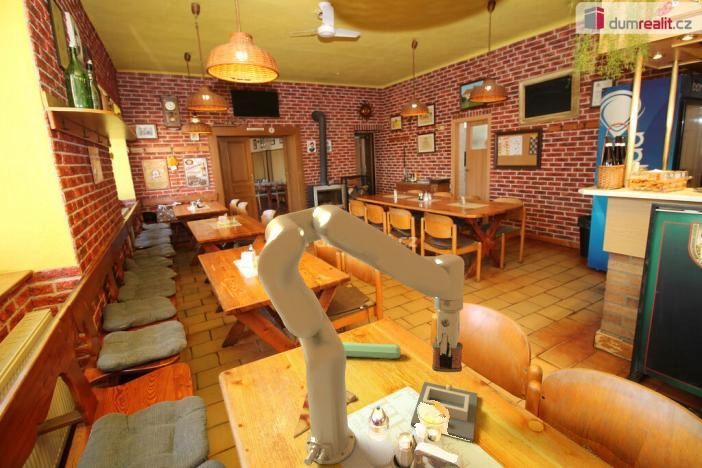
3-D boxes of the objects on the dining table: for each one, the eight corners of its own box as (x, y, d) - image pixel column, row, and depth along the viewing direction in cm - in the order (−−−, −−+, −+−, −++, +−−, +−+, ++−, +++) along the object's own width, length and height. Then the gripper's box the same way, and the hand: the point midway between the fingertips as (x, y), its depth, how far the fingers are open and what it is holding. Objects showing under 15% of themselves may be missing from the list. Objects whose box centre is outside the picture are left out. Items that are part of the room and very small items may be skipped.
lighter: (460, 365, 97) (461, 333, 94) (463, 372, 93) (464, 339, 91) (431, 364, 97) (431, 332, 95) (432, 372, 94) (433, 339, 92)
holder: (472, 442, 87) (473, 429, 86) (410, 426, 94) (410, 412, 93) (477, 396, 103) (478, 384, 102) (424, 384, 110) (424, 373, 109)
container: (400, 340, 125) (333, 337, 128) (401, 354, 120) (331, 350, 124) (400, 350, 129) (335, 346, 132) (400, 364, 124) (332, 360, 127)
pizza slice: (266, 408, 103) (266, 402, 103) (326, 376, 117) (326, 370, 117) (293, 439, 92) (293, 433, 91) (356, 399, 105) (356, 393, 105)
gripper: (459, 317, 82) (457, 384, 86) (466, 290, 97) (464, 348, 101) (427, 313, 85) (427, 378, 89) (438, 287, 100) (438, 344, 104)
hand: (446, 361), depth 95 cm, fingers closed on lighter, 4 cm apart
